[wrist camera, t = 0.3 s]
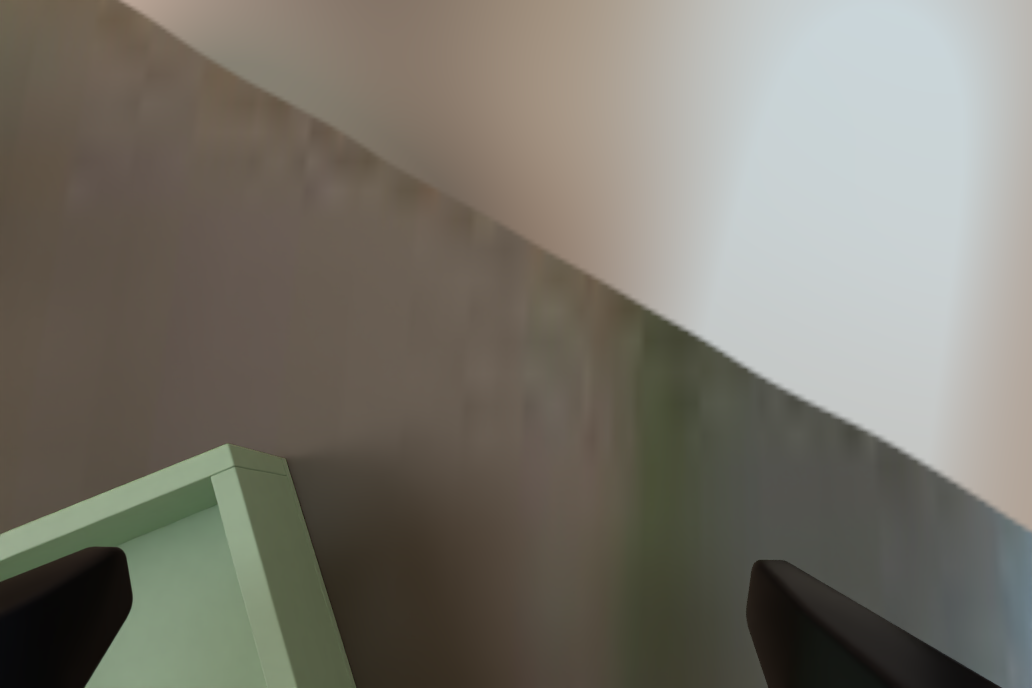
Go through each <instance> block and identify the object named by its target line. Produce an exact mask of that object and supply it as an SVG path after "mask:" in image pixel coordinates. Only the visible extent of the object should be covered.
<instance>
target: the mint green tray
mask: <svg viewBox="0 0 1032 688" xmlns="http://www.w3.org/2000/svg"><path fill="white" fill-rule="evenodd" d="M93 546H98V547H119V548H121V549H122V550H123V551H124V552H125V554H126V557H127V563H128V569H129V575H130V581H131V587H132V593H133V603H132V608H131V611H130V613H129V615H128V617H127V619H126V621H125V622H124V624H123V626H122V627H121V629H120V631H119V632H118V634H117V635H116V637H115V639H114V640H113V642H112V644H111V645H110V647H109V649H108V650H107V652H106V654H105V655H104V657H103V659H102V660H101V662H100V664H99V665H98V667H97V669H96V670H95V672H94V673H93V675H92V677H91V678H90V680H89V682H88V683H87V685H86V687H85V688H356V685H355V682H354V679H353V675H352V672H351V669H350V666H349V662H348V659H347V656H346V653H345V649H344V646H343V643H342V640H341V637H340V633H339V630H338V627H337V624H336V620H335V617H334V614H333V611H332V607H331V604H330V601H329V598H328V594H327V591H326V588H325V585H324V582H323V578H322V575H321V572H320V569H319V565H318V562H317V559H316V556H315V552H314V549H313V546H312V543H311V539H310V536H309V533H308V530H307V526H306V523H305V520H304V517H303V514H302V510H301V507H300V504H299V501H298V497H297V494H296V491H295V488H294V484H293V481H292V478H291V475H290V471H289V468H288V465H287V462H286V459H285V458H282V457H278V456H274V455H270V454H267V453H263V452H259V451H255V450H251V449H248V448H244V447H240V446H236V445H232V444H229V443H227V444H224V445H222V446H219V447H217V448H214V449H212V450H209V451H207V452H204V453H202V454H199V455H197V456H194V457H192V458H189V459H187V460H184V461H182V462H179V463H177V464H174V465H172V466H169V467H167V468H164V469H162V470H159V471H157V472H154V473H152V474H149V475H147V476H144V477H142V478H139V479H137V480H134V481H132V482H129V483H127V484H124V485H122V486H119V487H117V488H114V489H112V490H109V491H107V492H104V493H102V494H99V495H97V496H94V497H92V498H89V499H87V500H84V501H82V502H79V503H77V504H74V505H72V506H69V507H67V508H64V509H62V510H59V511H57V512H54V513H52V514H49V515H47V516H44V517H42V518H39V519H37V520H34V521H32V522H29V523H27V524H24V525H22V526H19V527H17V528H14V529H12V530H9V531H7V532H4V533H2V534H0V582H1V581H3V580H6V579H9V578H11V577H14V576H16V575H19V574H21V573H24V572H26V571H29V570H31V569H34V568H37V567H39V566H42V565H44V564H47V563H49V562H52V561H54V560H57V559H59V558H62V557H64V556H67V555H70V554H72V553H75V552H77V551H80V550H82V549H85V548H88V547H93Z"/></svg>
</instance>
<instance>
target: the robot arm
mask: <svg viewBox="0 0 1032 688" xmlns="http://www.w3.org/2000/svg"><path fill="white" fill-rule="evenodd" d="M132 603H133V593H132V587H131V581H130V575H129V569H128V563H127V557H126V554H125V552H124V551H123V550H122V549H121V548H119V547H98V546H93V547H88V548H85V549H82V550H80V551H77V552H75V553H72V554H70V555H67V556H64V557H62V558H59V559H57V560H54V561H52V562H49V563H47V564H44V565H42V566H39V567H37V568H34V569H31V570H29V571H26V572H24V573H21V574H19V575H16V576H14V577H11V578H9V579H6V580H3V581H1V582H0V688H85V687H86V685H87V683H88V682H89V680H90V678H91V677H92V675H93V673H94V672H95V670H96V669H97V667H98V665H99V664H100V662H101V660H102V659H103V657H104V655H105V654H106V652H107V650H108V649H109V647H110V645H111V644H112V642H113V640H114V639H115V637H116V635H117V634H118V632H119V631H120V629H121V627H122V626H123V624H124V622H125V621H126V619H127V617H128V615H129V613H130V611H131V608H132ZM746 617H747V624H748V628H749V631H750V634H751V637H752V640H753V643H754V646H755V649H756V652H757V655H758V658H759V661H760V664H761V667H762V670H763V673H764V676H765V679H766V682H767V685H768V688H1001V687H999V686H998V685H996V684H994V683H993V682H991V681H989V680H988V679H986V678H984V677H982V676H981V675H979V674H977V673H976V672H974V671H972V670H971V669H969V668H967V667H965V666H964V665H962V664H960V663H959V662H957V661H955V660H954V659H952V658H950V657H948V656H947V655H945V654H943V653H942V652H940V651H938V650H936V649H935V648H933V647H931V646H930V645H928V644H926V643H925V642H923V641H921V640H919V639H918V638H916V637H914V636H913V635H911V634H909V633H908V632H906V631H904V630H902V629H901V628H899V627H897V626H896V625H894V624H892V623H891V622H889V621H887V620H885V619H884V618H882V617H880V616H879V615H877V614H875V613H873V612H872V611H870V610H868V609H867V608H865V607H863V606H862V605H860V604H858V603H856V602H855V601H853V600H851V599H850V598H848V597H846V596H845V595H843V594H841V593H839V592H838V591H836V590H834V589H833V588H831V587H829V586H828V585H826V584H824V583H822V582H821V581H819V580H817V579H816V578H814V577H812V576H811V575H809V574H807V573H805V572H804V571H802V570H800V569H799V568H797V567H795V566H794V565H792V564H790V563H788V562H786V561H783V560H758V561H756V562H755V563H754V565H753V567H752V571H751V578H750V586H749V593H748V600H747V608H746Z"/></svg>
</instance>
